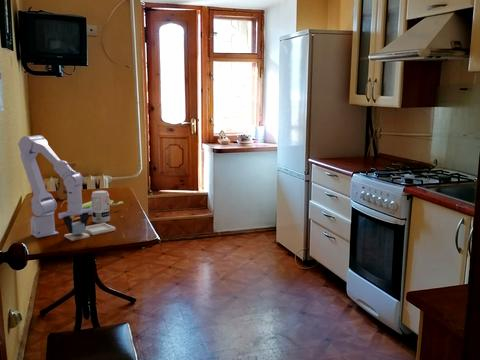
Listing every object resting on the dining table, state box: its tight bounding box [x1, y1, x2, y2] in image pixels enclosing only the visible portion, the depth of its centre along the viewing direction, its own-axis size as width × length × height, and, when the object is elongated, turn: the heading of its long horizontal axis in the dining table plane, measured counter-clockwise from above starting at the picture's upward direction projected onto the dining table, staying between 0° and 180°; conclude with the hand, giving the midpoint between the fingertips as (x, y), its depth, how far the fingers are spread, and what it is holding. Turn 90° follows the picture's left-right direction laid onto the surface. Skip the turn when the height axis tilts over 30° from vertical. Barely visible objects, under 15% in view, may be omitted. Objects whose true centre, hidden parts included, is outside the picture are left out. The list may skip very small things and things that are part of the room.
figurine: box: [60, 199, 75, 222], centre depth 225 cm, size 8×6×12 cm
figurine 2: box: [82, 198, 124, 216], centre depth 249 cm, size 18×27×6 cm
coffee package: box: [56, 161, 78, 201], centre depth 280 cm, size 10×12×22 cm
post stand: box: [63, 232, 91, 242], centre depth 200 cm, size 8×8×5 cm
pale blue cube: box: [71, 220, 86, 235], centre depth 200 cm, size 5×6×4 cm
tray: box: [85, 222, 116, 236], centre depth 210 cm, size 11×11×2 cm
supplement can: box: [90, 190, 111, 224], centre depth 225 cm, size 8×8×15 cm
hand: (76, 231), depth 200 cm, fingers closed on pale blue cube, 5 cm apart
